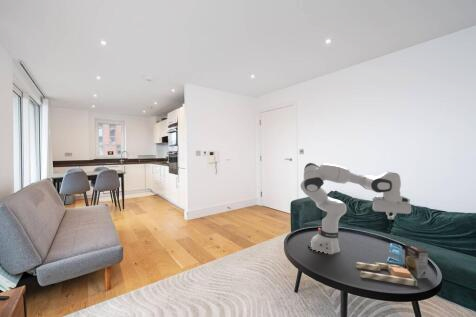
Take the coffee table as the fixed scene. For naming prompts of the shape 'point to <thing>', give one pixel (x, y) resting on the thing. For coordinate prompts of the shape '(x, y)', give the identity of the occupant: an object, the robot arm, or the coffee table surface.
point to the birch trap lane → (381, 276)
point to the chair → (396, 253)
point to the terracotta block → (400, 272)
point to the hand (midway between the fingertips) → (390, 219)
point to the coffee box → (416, 261)
